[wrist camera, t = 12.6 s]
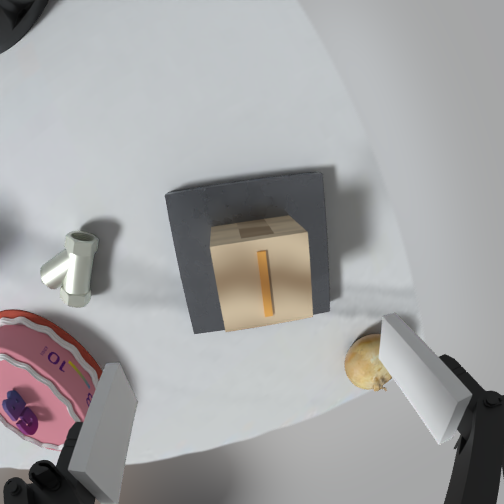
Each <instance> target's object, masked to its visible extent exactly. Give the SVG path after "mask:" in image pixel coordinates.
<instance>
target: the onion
mask: <svg viewBox="0 0 504 504" xmlns="http://www.w3.org/2000/svg"><path fill="white" fill-rule="evenodd" d="M380 339H381V334H370V335H367V336H364V337H362V338H360V339H359V340H357V341H355V342H354V344H353V345H352V346H351V347H350V349H349V350H348V352H347V354H346V358H345V371H346V374H347V376H348V378H349V379H350V381H351V382H352V383H353V384H354V385H355V386H357V387H359V388H362V389H367V390H369V389H373V390H374V391H378V390H380V389H384V390H385V391H387V390H386V388H385V387H383V385H384V384H385V383H387V382H388V381H389V380H390V379H392V376H391V375H390V374H389V372H388V371H387V369H386V368H385V367H384V365H383V364H382V362H381V361H380V360H379V349H380Z"/></svg>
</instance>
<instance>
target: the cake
mask: <svg viewBox="0 0 504 504" xmlns="http://www.w3.org/2000/svg"><path fill="white" fill-rule="evenodd" d="M101 375H102V370H101V369H100V367H99V366H98V364H97V363H96V361H95V360H94V359H93V358H92V356H91V355H90V354H89V353H88V352H87V351H86V349H85V348H84V347H83V346H82V345H81V344H80V343H79V342H77V341H76V340H75V339H74V338H73V337H72V336H71V335H69V334H68V333H67V332H65V331H64V330H63V329H61V328H60V327H58V326H57V325H55V324H54V323H52V322H50V321H49V320H47V319H45V318H43V317H41V316H38V315H36V314H33V313H30V312H27V311H22V310H4V311H0V421H1V422H2V423H3V424H4V425H5V426H6V427H7V428H9V429H10V430H12V431H13V432H15V433H16V434H17V435H19V436H20V437H21V438H22V439H24V440H27V441H29V442H32V443H34V444H36V445H38V446H40V447H42V448H47V449H51V450H56V451H62V448H63V447H64V442H65V440H66V437H67V434H68V431H69V429H70V428H71V427H72V426H73V424H74V423H75V422H84V419H85V417H86V414H87V411H88V408H89V406H90V403H91V400H92V398H93V395H94V392H95V390H96V387H97V385H98V382H99V380H100V377H101Z"/></svg>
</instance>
